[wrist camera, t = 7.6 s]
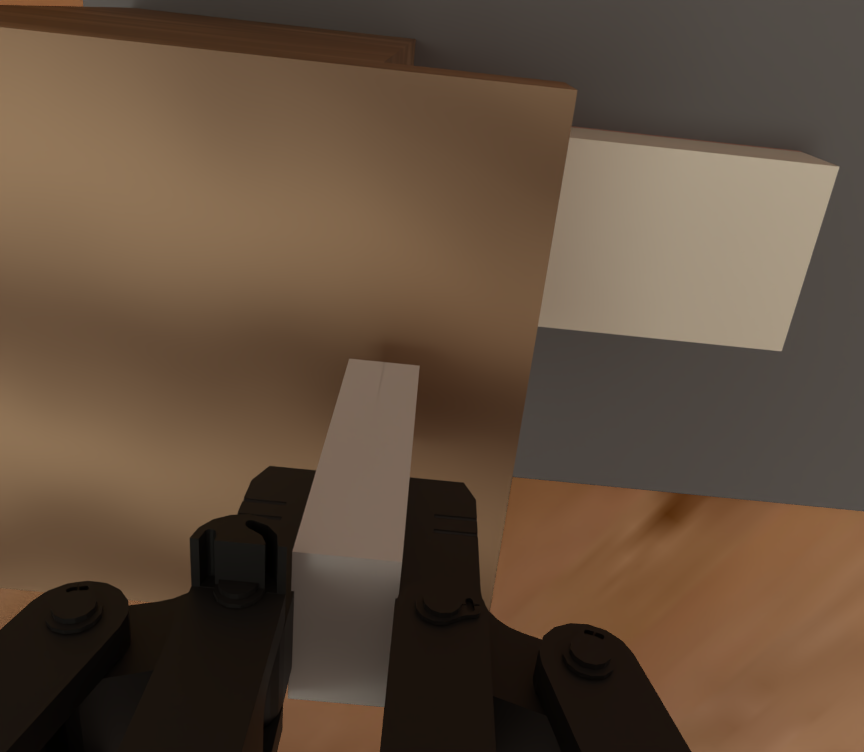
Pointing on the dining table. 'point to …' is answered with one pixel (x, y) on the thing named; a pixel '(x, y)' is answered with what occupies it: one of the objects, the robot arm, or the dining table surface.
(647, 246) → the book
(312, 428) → the stand
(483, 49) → the mat
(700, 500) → the dining table surface
